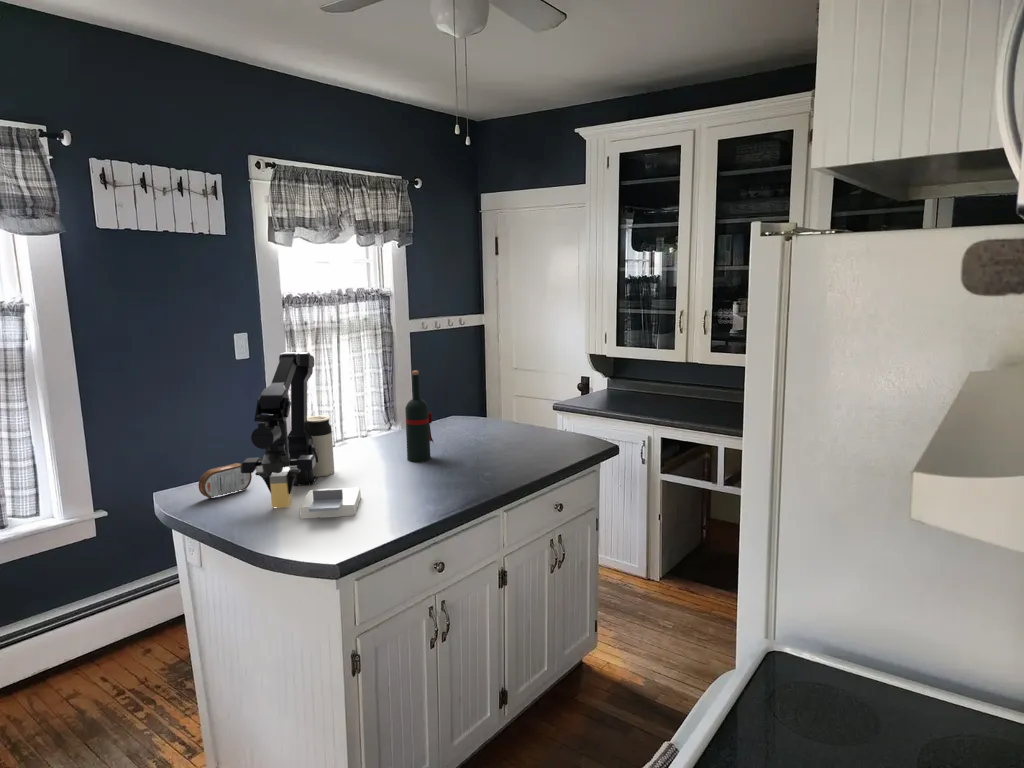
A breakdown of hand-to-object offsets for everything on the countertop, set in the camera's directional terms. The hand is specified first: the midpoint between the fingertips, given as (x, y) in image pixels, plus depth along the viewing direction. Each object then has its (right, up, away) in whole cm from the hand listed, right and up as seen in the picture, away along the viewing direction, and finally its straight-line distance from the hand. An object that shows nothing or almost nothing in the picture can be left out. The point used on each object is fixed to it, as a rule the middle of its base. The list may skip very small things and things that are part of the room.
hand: (281, 494), depth 185 cm
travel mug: (+3, +2, +29) cm, 29 cm away
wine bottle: (+33, +5, +44) cm, 55 cm away
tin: (-19, -2, +11) cm, 22 cm away
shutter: (+15, -1, -10) cm, 18 cm away
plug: (0, -3, +1) cm, 3 cm away
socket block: (+14, -3, -2) cm, 15 cm away
